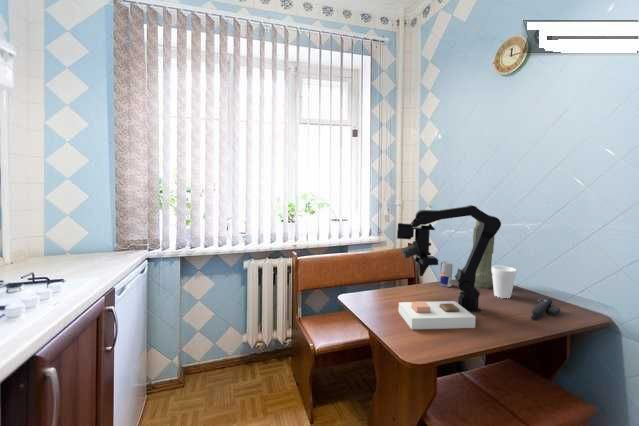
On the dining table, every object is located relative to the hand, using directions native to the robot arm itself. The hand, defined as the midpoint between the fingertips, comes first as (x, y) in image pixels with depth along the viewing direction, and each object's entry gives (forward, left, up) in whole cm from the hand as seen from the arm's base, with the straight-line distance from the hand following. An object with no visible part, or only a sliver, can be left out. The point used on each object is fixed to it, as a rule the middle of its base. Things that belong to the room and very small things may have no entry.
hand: (420, 276), depth 122 cm
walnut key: (-5, +15, -11) cm, 19 cm away
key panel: (+1, +15, -12) cm, 19 cm away
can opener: (-43, +13, -12) cm, 47 cm away
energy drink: (-22, -21, -12) cm, 33 cm away
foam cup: (-41, -6, -12) cm, 43 cm away
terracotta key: (+6, +15, -10) cm, 19 cm away
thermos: (-40, -20, -12) cm, 46 cm away
